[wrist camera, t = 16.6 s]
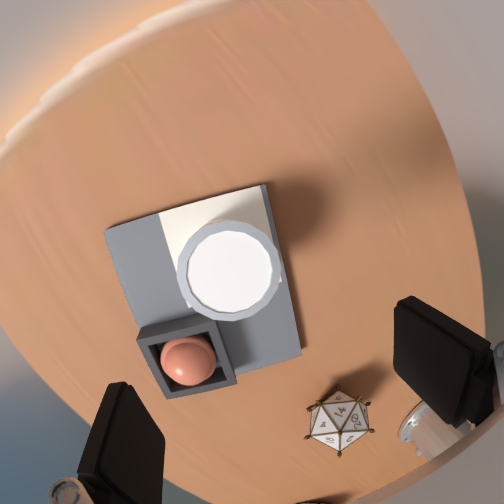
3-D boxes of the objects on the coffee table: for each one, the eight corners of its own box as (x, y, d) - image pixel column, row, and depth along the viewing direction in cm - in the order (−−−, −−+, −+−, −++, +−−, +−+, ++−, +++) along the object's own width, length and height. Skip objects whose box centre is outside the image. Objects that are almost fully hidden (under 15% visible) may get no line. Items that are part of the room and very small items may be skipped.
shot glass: (219, 194, 24) (225, 197, 17) (277, 246, 26) (302, 267, 19) (167, 255, 24) (154, 280, 18) (226, 302, 26) (234, 339, 19)
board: (299, 350, 30) (309, 367, 27) (169, 384, 29) (167, 405, 25) (262, 184, 25) (271, 184, 22) (106, 229, 24) (93, 235, 21)
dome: (221, 364, 28) (224, 390, 24) (174, 375, 27) (171, 402, 23) (205, 321, 26) (206, 345, 22) (155, 334, 26) (148, 359, 22)
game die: (306, 382, 36) (298, 400, 27) (368, 376, 34) (379, 391, 25) (309, 439, 34) (301, 470, 24) (368, 433, 32) (377, 463, 22)
